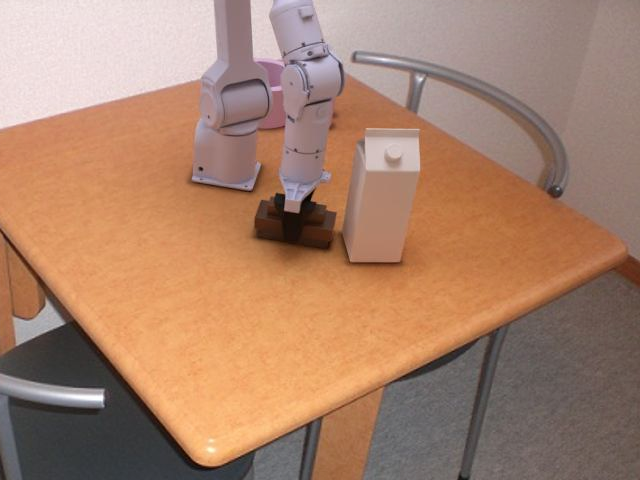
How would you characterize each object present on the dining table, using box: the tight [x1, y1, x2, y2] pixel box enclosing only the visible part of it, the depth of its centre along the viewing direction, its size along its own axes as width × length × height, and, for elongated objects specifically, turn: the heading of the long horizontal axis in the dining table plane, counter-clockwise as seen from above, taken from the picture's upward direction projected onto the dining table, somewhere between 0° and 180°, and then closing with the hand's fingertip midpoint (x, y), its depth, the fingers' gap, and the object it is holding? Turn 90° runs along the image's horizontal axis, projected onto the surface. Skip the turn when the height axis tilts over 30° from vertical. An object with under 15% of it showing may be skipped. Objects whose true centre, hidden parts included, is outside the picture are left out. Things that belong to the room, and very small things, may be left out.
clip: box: [253, 57, 337, 130], centre depth 152 cm, size 20×12×7 cm, turn 81°
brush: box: [253, 195, 338, 250], centre depth 125 cm, size 11×5×5 cm, turn 79°
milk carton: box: [341, 127, 421, 263], centre depth 119 cm, size 7×7×19 cm
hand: (294, 226), depth 126 cm, fingers open, 6 cm apart
